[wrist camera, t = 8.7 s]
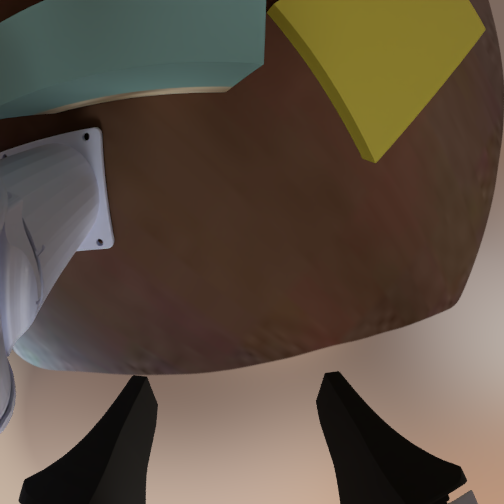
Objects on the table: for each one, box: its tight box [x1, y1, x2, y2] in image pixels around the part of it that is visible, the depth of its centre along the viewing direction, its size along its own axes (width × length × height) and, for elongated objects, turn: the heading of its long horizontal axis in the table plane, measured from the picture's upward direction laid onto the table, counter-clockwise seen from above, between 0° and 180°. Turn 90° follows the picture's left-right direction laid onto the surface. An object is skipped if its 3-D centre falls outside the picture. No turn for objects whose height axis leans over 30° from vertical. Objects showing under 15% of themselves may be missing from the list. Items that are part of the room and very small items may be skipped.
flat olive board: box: [267, 0, 486, 163], centre depth 12 cm, size 12×2×24 cm
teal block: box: [0, 0, 266, 119], centre depth 7 cm, size 11×4×6 cm, turn 88°
